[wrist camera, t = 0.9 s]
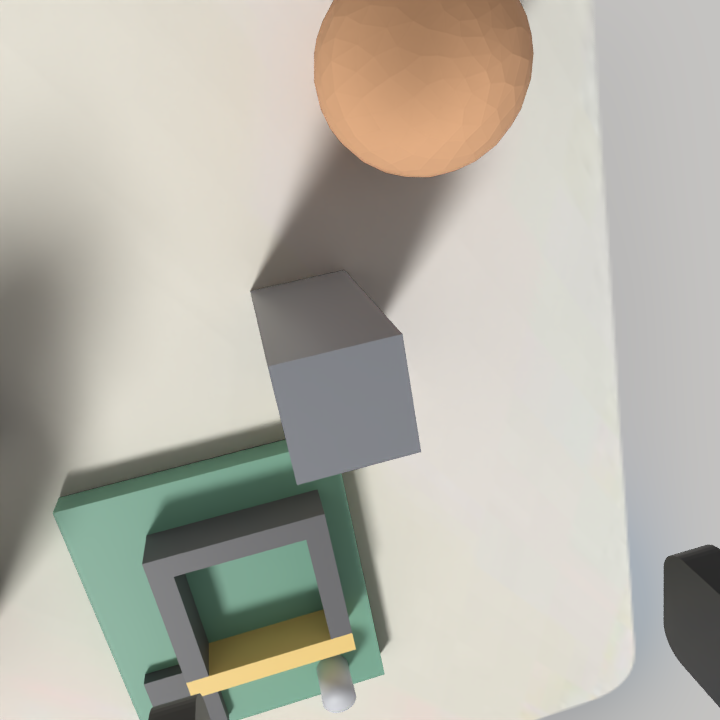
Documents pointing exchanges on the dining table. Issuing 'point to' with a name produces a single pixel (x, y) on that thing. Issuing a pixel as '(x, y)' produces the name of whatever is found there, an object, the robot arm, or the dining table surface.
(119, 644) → the board
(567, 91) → the dining table surface
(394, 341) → the plug
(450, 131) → the egg
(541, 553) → the dining table surface
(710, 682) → the robot arm
